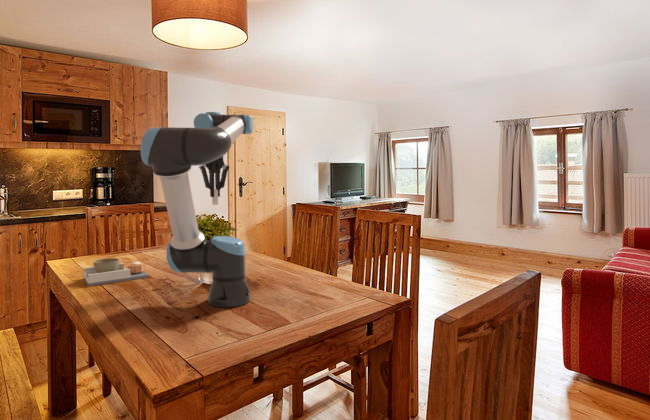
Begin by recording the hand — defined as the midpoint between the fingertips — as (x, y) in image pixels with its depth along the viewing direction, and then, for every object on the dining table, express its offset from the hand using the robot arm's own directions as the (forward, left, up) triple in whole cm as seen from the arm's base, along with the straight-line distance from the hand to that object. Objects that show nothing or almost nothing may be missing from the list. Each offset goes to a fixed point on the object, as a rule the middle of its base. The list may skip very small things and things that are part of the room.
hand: (215, 204), depth 176 cm
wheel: (+24, +28, -31) cm, 48 cm away
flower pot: (+24, +40, -31) cm, 56 cm away
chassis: (+24, +36, -32) cm, 54 cm away
